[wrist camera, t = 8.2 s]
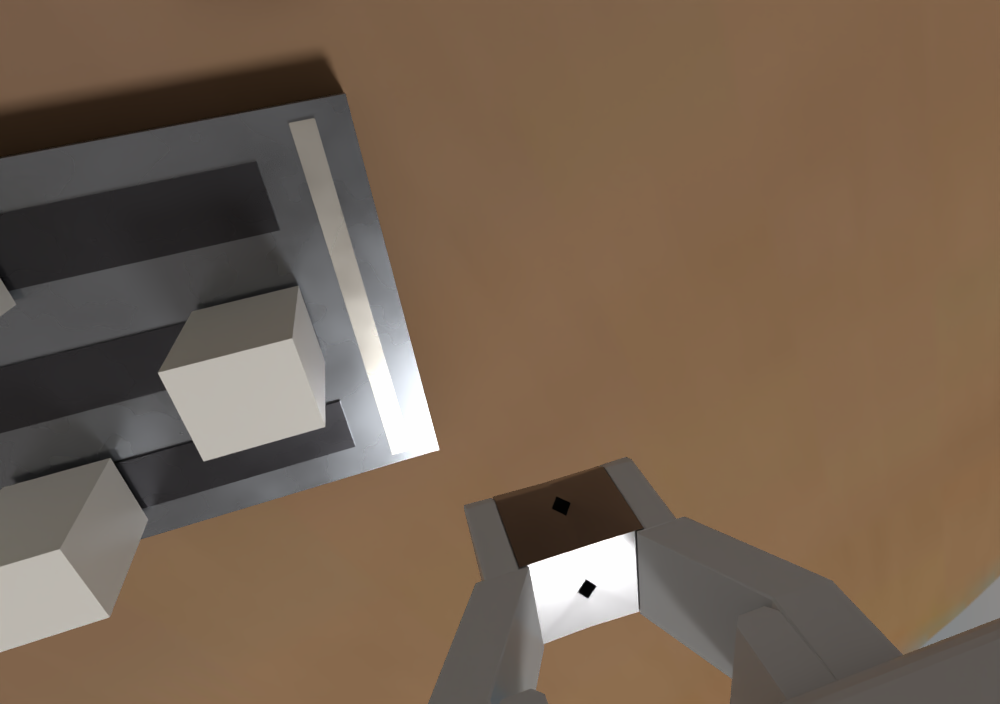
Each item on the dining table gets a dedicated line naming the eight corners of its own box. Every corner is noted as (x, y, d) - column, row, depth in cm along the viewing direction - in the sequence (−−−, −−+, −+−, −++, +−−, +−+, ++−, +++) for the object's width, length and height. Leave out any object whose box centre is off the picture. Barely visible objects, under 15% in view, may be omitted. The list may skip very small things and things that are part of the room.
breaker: (110, 457, 20) (59, 549, 16) (148, 519, 22) (109, 617, 18) (2, 487, 20) (-77, 589, 16) (48, 549, 21) (-15, 656, 17)
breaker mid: (298, 285, 19) (292, 338, 16) (324, 361, 21) (325, 426, 17) (191, 311, 19) (157, 372, 15) (226, 387, 20) (203, 461, 16)
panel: (343, 92, 19) (345, 93, 18) (433, 430, 26) (439, 450, 24) (-297, 212, 16) (-356, 225, 15) (-8, 560, 23) (-30, 592, 21)
